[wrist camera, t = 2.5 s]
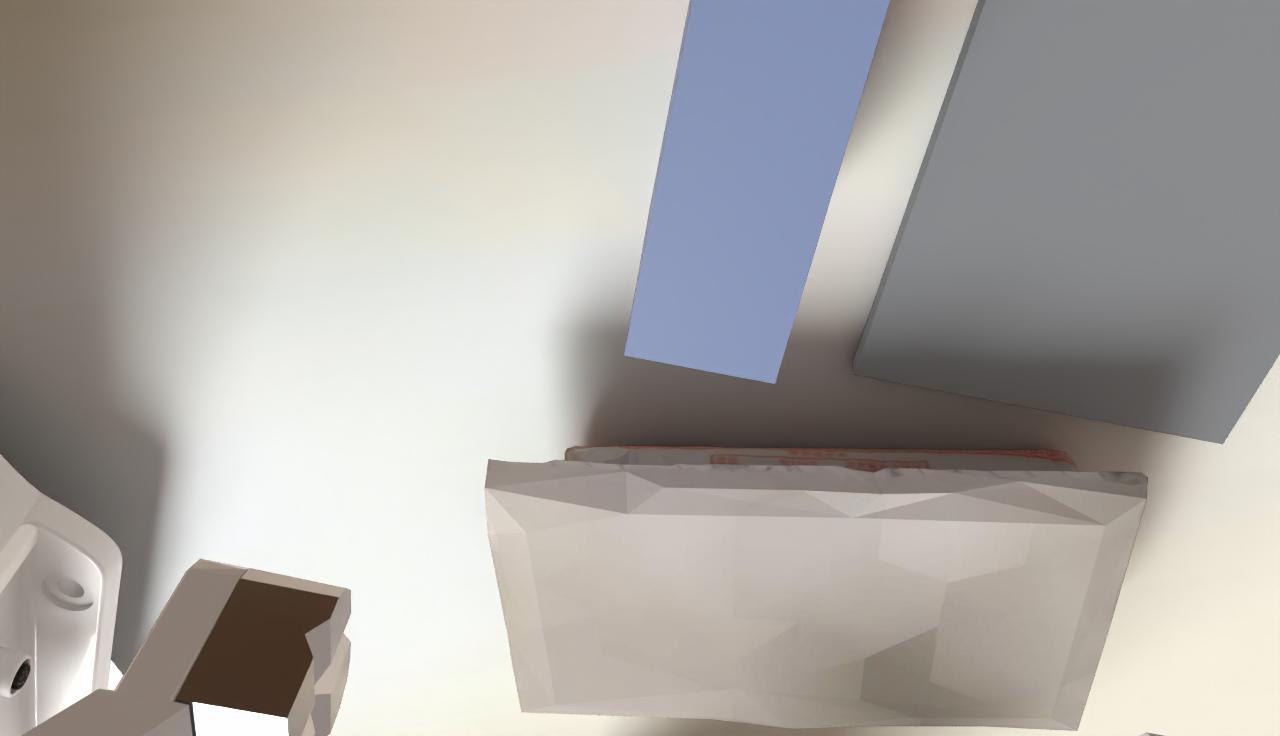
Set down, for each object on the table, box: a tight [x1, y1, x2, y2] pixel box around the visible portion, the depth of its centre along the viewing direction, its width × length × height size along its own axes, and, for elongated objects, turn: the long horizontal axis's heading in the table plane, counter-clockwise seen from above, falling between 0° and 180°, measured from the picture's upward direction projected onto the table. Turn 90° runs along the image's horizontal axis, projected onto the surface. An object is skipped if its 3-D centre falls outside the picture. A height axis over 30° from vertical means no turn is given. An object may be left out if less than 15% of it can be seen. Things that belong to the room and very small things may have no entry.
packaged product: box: [485, 446, 1148, 731], centre depth 33 cm, size 18×5×10 cm
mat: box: [853, 0, 1280, 444], centre depth 27 cm, size 16×11×1 cm
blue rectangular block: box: [624, 0, 890, 384], centre depth 24 cm, size 9×3×7 cm, turn 170°
